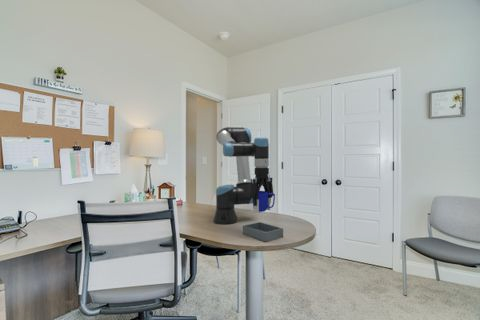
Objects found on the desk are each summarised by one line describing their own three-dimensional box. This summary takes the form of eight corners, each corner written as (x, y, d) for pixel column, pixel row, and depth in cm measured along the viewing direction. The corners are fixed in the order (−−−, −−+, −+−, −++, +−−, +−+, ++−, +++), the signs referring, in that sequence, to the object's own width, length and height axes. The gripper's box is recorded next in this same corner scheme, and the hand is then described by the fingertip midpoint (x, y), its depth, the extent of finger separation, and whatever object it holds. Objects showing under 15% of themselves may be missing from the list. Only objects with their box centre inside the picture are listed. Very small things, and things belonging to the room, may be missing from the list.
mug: (274, 213, 123) (273, 193, 123) (250, 212, 126) (250, 193, 126) (276, 209, 131) (275, 190, 131) (254, 209, 134) (253, 190, 134)
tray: (242, 234, 132) (242, 225, 132) (259, 229, 139) (259, 221, 139) (265, 242, 118) (265, 233, 118) (283, 236, 126) (283, 228, 126)
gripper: (251, 167, 119) (252, 214, 119) (280, 166, 132) (280, 209, 132) (242, 167, 125) (242, 212, 125) (270, 166, 138) (270, 207, 138)
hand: (262, 210), depth 129 cm, fingers closed on mug, 7 cm apart
